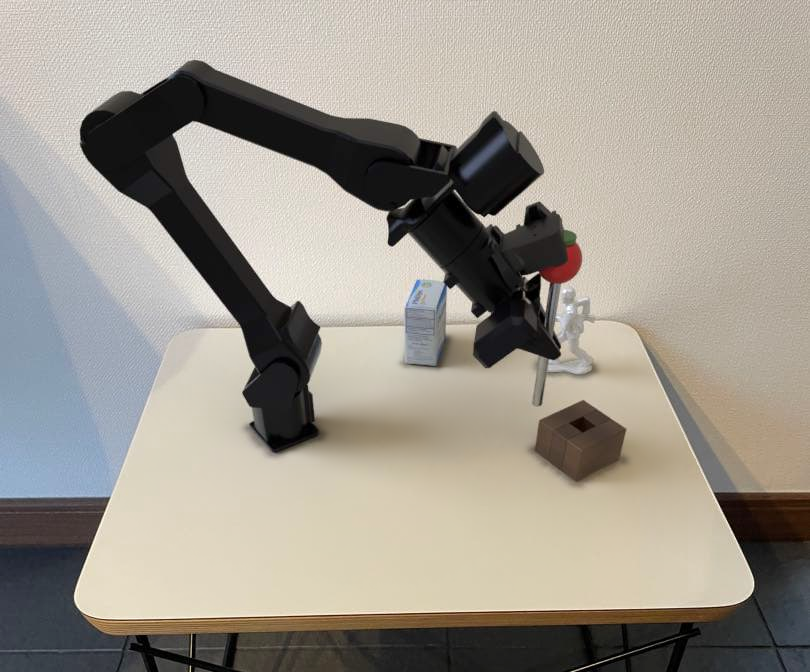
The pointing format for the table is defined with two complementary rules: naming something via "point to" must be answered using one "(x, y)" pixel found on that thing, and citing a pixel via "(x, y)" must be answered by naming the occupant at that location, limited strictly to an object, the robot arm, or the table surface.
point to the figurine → (573, 332)
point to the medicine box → (425, 322)
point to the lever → (556, 302)
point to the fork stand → (579, 440)
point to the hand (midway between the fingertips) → (557, 353)
